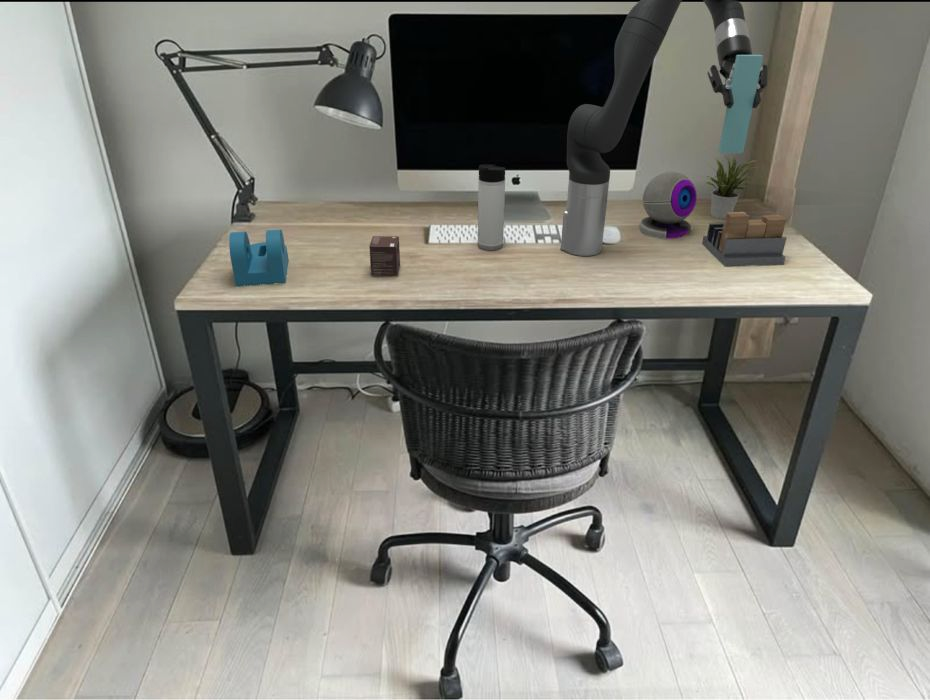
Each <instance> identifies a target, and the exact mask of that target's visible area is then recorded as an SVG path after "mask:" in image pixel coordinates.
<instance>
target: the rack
mask: <svg viewBox="0 0 930 700" xmlns="http://www.w3.org/2000/svg"><path fill="white" fill-rule="evenodd" d="M708 224H709V225H708V230H707V234H706V235H703V237H702V242H701V244H702V245H703V246H704V247H705V248H706V249H707V250H708V251H709V253H711V254H712V256H713V257H715V258H716V260H717V261H718V262H721V263H722V264H723V265H724V266H723V265H722V264H721V263H720V264H721V265H722V266H723V267H743V266H744V267H746V266H745V265H755V266H783V265H784V263H785V259H786V256H785V255H784V250H785V247H786V246H785V245H786V242H787V237H786V236H782V237H754V238H726V239H725V243H724V248H723V253H722V252H721V251H720V250H719V245H720V240H721V236H722V231H723V226H724V222H717V223H715V222H713V223H711V222H710V223H708ZM740 265H742V266H740Z"/></svg>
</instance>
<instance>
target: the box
mask: <svg viewBox="0 0 930 700" xmlns="http://www.w3.org/2000/svg"><path fill="white" fill-rule="evenodd" d="M368 246H369V259H370V260H369V261H370V275H371V277H398V276H399V272H400V268H401V255H400V253H401V252H400V250H401V249H400V237H399V236H392V235H391V236H390V235H389V236H384V235H383V236H381V235H379V236H377V235H374V236H372V238H371V240H370V243H369V245H368Z"/></svg>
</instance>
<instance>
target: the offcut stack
mask: <svg viewBox="0 0 930 700" xmlns="http://www.w3.org/2000/svg"><path fill="white" fill-rule="evenodd" d="M761 216H762V217H761V219H750V215H749V214H747V213H746V212H745V211H733V212H726V216H725V219H724V222H723V223H724V226H723V231H722V236H721V240H720V245H719V250H720V251H721V252H722V253H723V248H724V243H725V239H726V238H754V237H783V234H784V231H785V226H786V223H787V219H786V218H785V217H784V216H782V215H780V214H776V215H775V214H773V215H771V214H770V215H761Z"/></svg>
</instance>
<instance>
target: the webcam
mask: <svg viewBox="0 0 930 700" xmlns="http://www.w3.org/2000/svg"><path fill="white" fill-rule="evenodd" d="M642 195H643V196H642V205H643V208H644V210H645V213H646V215H648V216H646V217H645V218H642V219H641V220H640V221H639V226H638V230H639V231H640V232H641V234H644V235H646V236H649V237H652V238H656V239H663V240H666V239H676V238H678V237H679V238H682V237H685V236H686V235H687V234H688V233H691V231H692V225H691V224H690V223H689V222H688V221H687V220H685V219H686V218H688V217H689V216H690V214H692V212H693V211H694V210H695V207H696V204H697V200H698V199H697V197H698V196H697V190H696V187H695V185H694V183H693V182H692V180H691V179H690V178H689V177H688V176H686V175H684V173H683V174H682V173H680V172H676V171H667V172H663V173H660V174H657V175H656V176H655V177H653V178H652V179H651V180H649V182H648V183H647V185H645V188H644V191H643V194H642ZM684 235H685V236H684Z"/></svg>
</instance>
